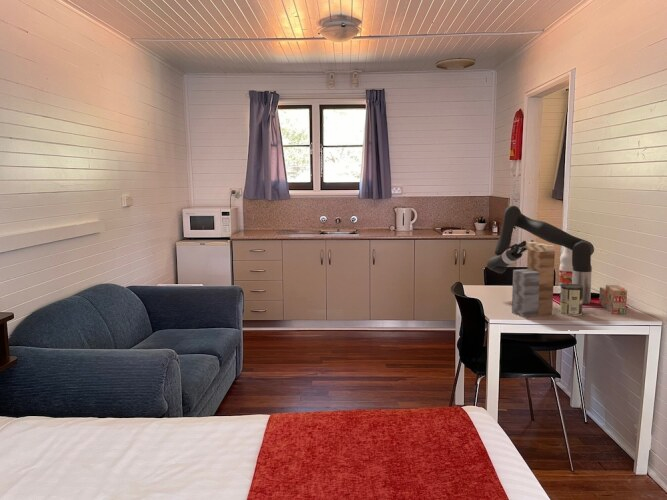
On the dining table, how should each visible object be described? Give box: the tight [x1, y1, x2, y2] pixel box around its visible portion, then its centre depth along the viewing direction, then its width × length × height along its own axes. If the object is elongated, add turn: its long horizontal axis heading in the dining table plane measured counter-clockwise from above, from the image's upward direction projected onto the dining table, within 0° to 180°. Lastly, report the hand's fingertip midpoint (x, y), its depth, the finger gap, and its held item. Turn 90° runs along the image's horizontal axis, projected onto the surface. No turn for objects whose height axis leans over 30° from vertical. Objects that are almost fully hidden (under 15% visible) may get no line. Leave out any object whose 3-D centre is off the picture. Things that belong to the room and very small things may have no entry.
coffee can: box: [559, 284, 584, 317], centre depth 256 cm, size 10×10×14 cm
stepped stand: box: [511, 249, 556, 318], centre depth 255 cm, size 10×16×32 cm, turn 105°
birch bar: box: [521, 240, 555, 252], centre depth 256 cm, size 20×4×3 cm, turn 15°
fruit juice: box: [558, 247, 573, 291], centre depth 308 cm, size 9×9×28 cm
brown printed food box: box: [598, 284, 628, 315], centre depth 264 cm, size 21×6×12 cm, turn 169°
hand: (529, 242), depth 262 cm, fingers closed on birch bar, 4 cm apart
